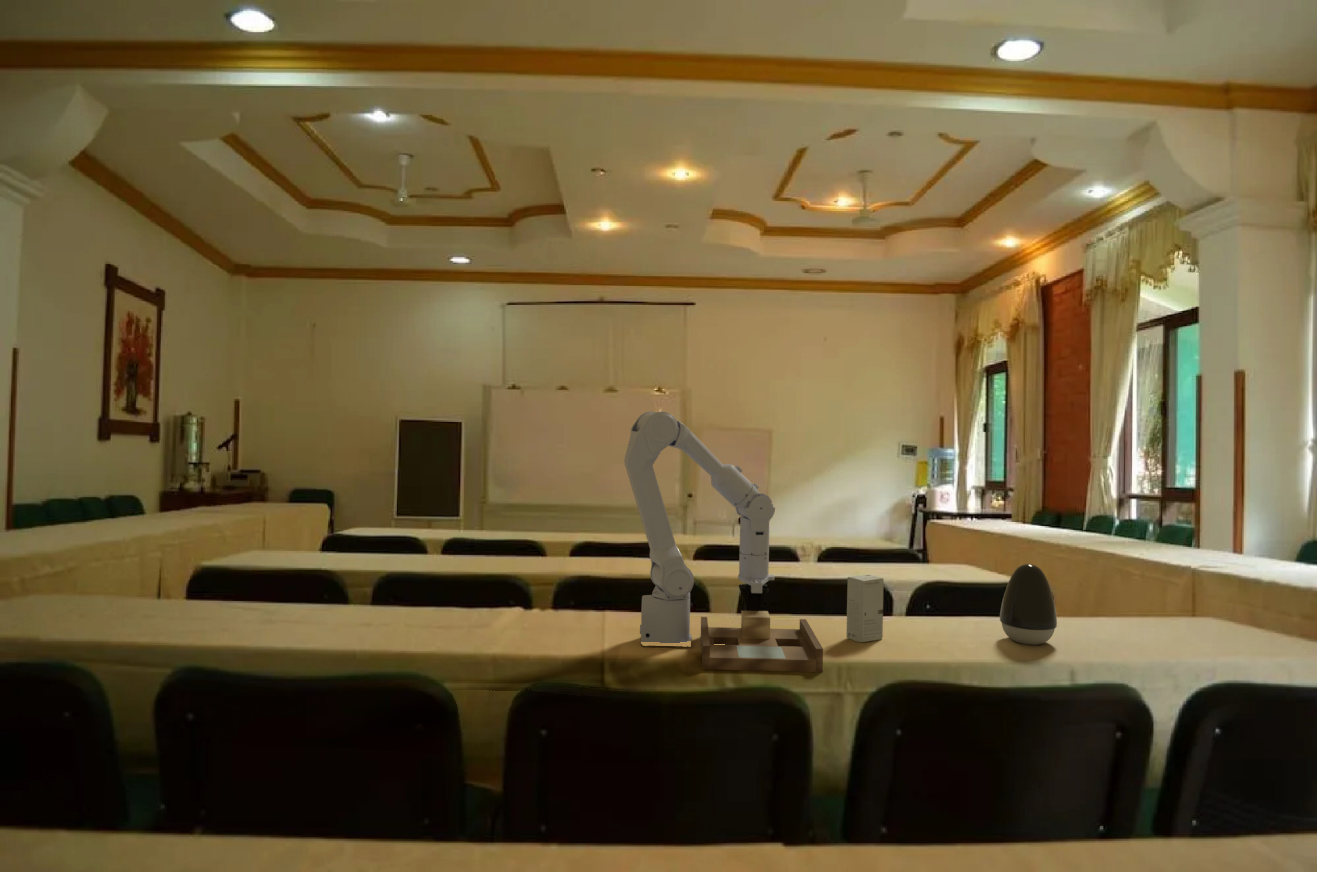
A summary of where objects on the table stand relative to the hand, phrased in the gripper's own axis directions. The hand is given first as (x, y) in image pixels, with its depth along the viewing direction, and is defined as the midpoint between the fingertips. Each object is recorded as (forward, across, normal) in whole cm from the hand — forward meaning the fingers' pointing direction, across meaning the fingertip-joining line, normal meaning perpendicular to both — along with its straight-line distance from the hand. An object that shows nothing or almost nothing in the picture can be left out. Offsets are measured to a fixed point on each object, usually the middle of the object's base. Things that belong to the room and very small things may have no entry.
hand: (752, 622), depth 159 cm
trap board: (+3, -11, 0) cm, 11 cm away
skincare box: (+3, +1, -22) cm, 22 cm away
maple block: (+1, -6, 0) cm, 6 cm away
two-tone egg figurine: (+3, +2, -54) cm, 54 cm away
